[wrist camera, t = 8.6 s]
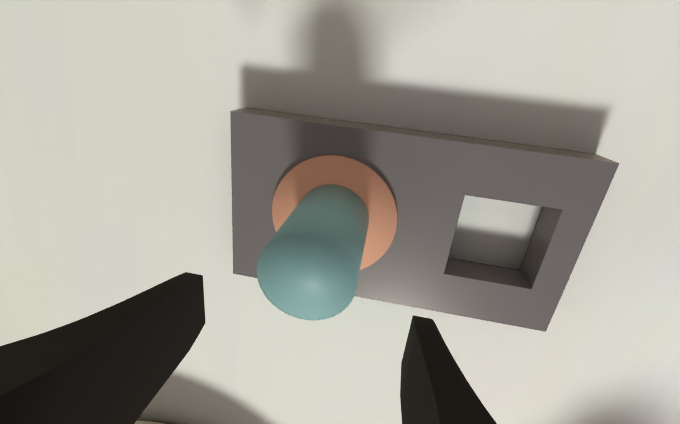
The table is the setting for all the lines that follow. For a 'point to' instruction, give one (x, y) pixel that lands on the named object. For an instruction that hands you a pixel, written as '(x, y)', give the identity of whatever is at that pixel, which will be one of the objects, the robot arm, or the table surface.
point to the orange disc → (351, 177)
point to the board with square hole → (429, 209)
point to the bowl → (146, 422)
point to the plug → (316, 254)
